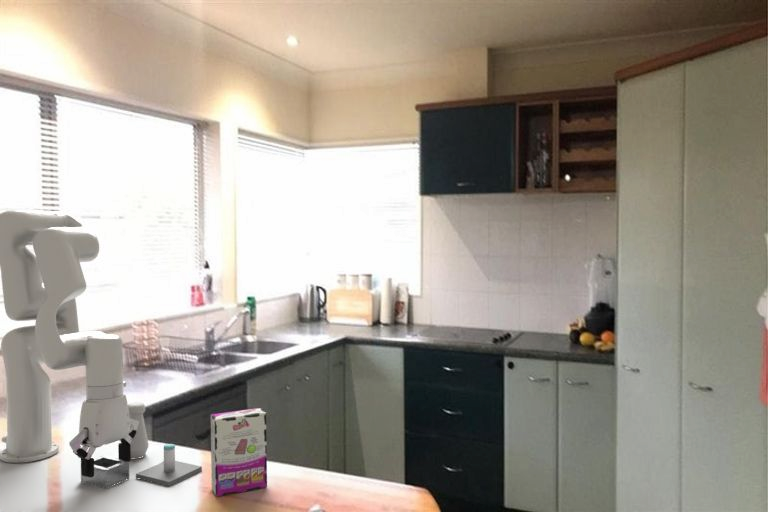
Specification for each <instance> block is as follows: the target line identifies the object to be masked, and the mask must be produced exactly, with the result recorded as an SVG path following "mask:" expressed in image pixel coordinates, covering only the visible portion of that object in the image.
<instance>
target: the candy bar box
mask: <svg viewBox="0 0 768 512" xmlns="http://www.w3.org/2000/svg"><path fill="white" fill-rule="evenodd" d="M210 448H211V449H210V454H211V455H210V457H211V461H210V462H211V467H210V468H211V489H212V492H213V491H214V492H213V493H214V495H215V497H217V496H218V497H223V496H228V495H233V494H239V493H244V492H249V491H253V490H260V489H263V488H267V487H268V462H267V460H268V459H267V457H268V453H267V450H268V449H267V412H265V410H263V409H262V408H261V407H257V408H249V409H242V410H234V411H227V412H220V413H219V412H218V413H213V414H210Z"/></svg>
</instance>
